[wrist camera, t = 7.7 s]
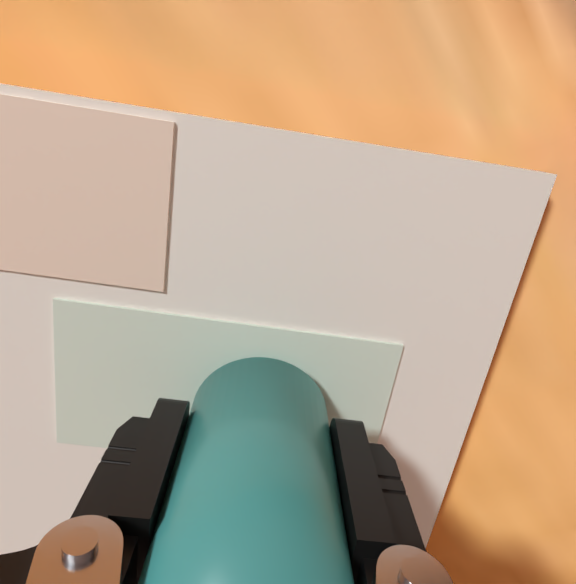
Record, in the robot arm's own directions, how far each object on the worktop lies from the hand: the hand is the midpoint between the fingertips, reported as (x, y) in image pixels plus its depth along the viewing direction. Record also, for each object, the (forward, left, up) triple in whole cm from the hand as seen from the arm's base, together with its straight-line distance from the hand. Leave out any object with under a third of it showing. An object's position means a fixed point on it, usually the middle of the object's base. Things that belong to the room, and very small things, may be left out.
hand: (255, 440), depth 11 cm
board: (+1, +2, -2) cm, 3 cm away
